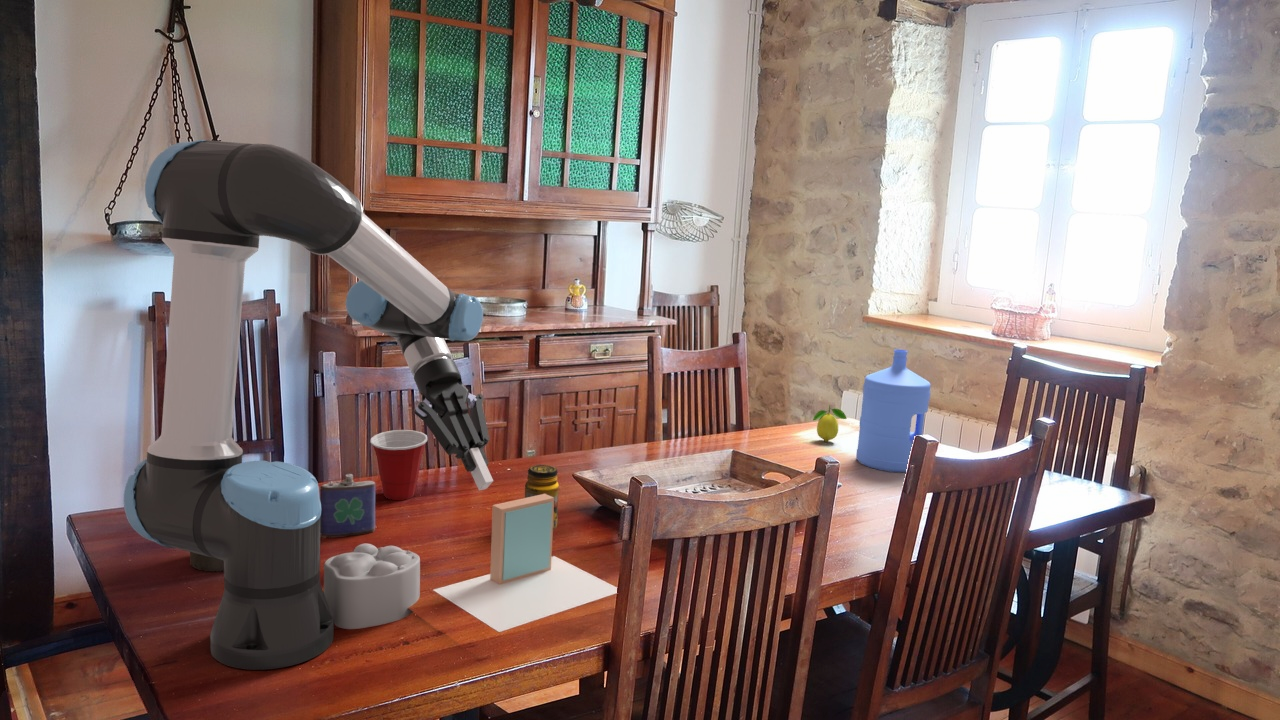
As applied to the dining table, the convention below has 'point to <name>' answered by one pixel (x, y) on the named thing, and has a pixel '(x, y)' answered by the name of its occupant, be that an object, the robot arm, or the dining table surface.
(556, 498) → the condiment
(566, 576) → the board
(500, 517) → the tile
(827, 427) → the lemon
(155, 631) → the dining table surface
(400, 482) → the plastic cup
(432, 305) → the robot arm
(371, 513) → the flask
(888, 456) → the water jug
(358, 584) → the lumpy-topped squat cylinder
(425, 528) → the dining table surface
